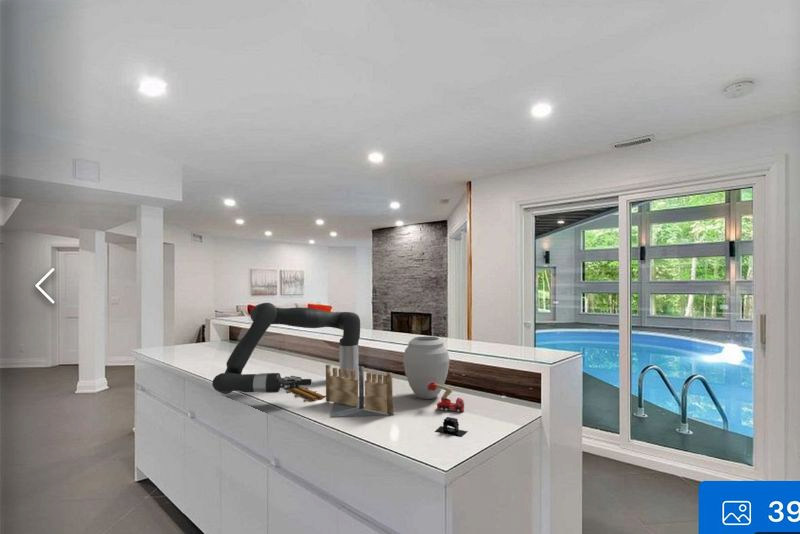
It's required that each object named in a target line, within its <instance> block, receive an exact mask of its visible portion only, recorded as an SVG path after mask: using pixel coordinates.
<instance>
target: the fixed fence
mask: <svg viewBox="0 0 800 534" xmlns="http://www.w3.org/2000/svg"><path fill="white" fill-rule="evenodd" d="M364 368H365V367H364V366H363V365H362V366H358V396H359V408H360V409H363V408H364V396H365V409H370V410H375V411H380V412H385V413H387V414H389V415H387V416H390V417H391V416H393V415H392V414H393V410H394V405H393V397H394V396H393V372H387V373H386V374H382V373H376V372H373V373H372V372H366V375H365V371H364ZM365 376H366V380H365Z"/></svg>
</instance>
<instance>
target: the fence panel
mask: <svg viewBox="0 0 800 534" xmlns="http://www.w3.org/2000/svg"><path fill="white" fill-rule="evenodd" d="M331 366H332V365H331V364H326V365H325V396H326V397H325V402H327V403H329V402H331V403H333V404H334V403H339V404H344V405H349V406H355V407H357V406H358V396H359V378H358V379H355V370H351V378H349V369H345V370H344V371H345V377H343V369H341V368H340V367H339V368H338V367H331Z"/></svg>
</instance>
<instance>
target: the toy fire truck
mask: <svg viewBox="0 0 800 534" xmlns="http://www.w3.org/2000/svg"><path fill="white" fill-rule="evenodd" d="M437 387H438V388H440V389H441V390H444V391H445V392H444V393H443V395H442V396H441V398H440V401H438V402H437V403H436V409H437V410H440V411H446V412H448V411H453V412H457V413H460V412H461V413H463V412H465V401H464V399H462V398H460V397H457V398H456V400H455V402H452V401H451V399H450V398H447V397H449V396H450V395H451V393H452V392H453V390H452V388H450V387H447V386H445V385H444V386H442V385H439V384H437V382H434V383H430V384H429V385H428V390H433V391H435V389H436V388H437Z"/></svg>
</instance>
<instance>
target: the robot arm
mask: <svg viewBox="0 0 800 534" xmlns="http://www.w3.org/2000/svg"><path fill="white" fill-rule="evenodd" d="M249 317H250V319H251V321H252V323H251V325H250V327H249V329H248V330H247V331H246V333H245V334H244V336H243V337H242V338H241V339H240V340H239V341H238V343H237V344H236V345H235V347H234V349H233V350H232V352H231V354H230V355H229V357H228V359H227V361H226V369H225V372H222V373H219V374H217V375H216V376H214V377H213V380H212V383H211V384H212V388H213V389H214V390H215V391H217V392H219V393H221V394H223V395H229V394H231V393H232V392H241V393H259V394H260V393H261V394H265V393H268V394H269V393H273V394H275V393H279V392H280V391H281V389H284V391H288V390H289V389H292V388H298V387H299V386H311V385H312V382H313V381H312V378H302V377H301V376H295V375H290V376H287V375H286V376H284V377H282V375H281V373H280V372H266V373H265V372H263V373H246V374H243V370H244V368H245V366H246V365H247V363H248V361H249V359H250V358H251V356H252V354H253V352H254V350H255V349H256V347H257V346H258V343H259V342H260V340H261V339H262V337H263V335H265V333H266V332H267V330H268V329H269V328H270V326H271V325H284V326H288V327H296V328H304V329H321V328H332V329H338V330H341V331H342V332H343V335H342V337H341V338H339V369H340V368H341V369H343V377H345V371H344V370H345V369H349V378H351V370H355V379H358V380H359V340H360V337H361V319H360V316H359V315H358V314H357V313H355V312H352V311H351V312H350V311H342V312H341V311H339V312H338V311H337V312H336V311H327V310H323V309H318V308H311V307H287V308H286V307H284V308H283V307H276V305H274V304H273V303H271V302H263V303H259V304H257V305H255V306H254V307H253V308H251V310H250V313H249Z"/></svg>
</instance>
